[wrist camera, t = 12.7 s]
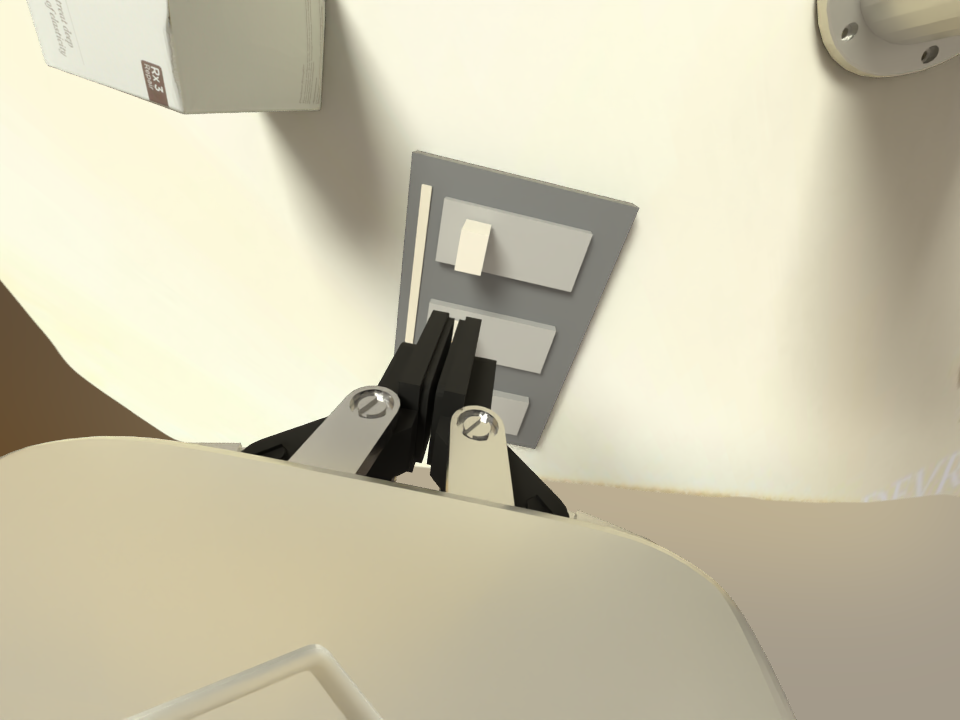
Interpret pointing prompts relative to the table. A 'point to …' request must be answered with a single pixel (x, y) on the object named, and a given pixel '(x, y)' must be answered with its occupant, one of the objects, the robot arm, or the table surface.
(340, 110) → the table surface
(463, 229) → the block
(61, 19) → the skincare box
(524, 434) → the breaker panel
